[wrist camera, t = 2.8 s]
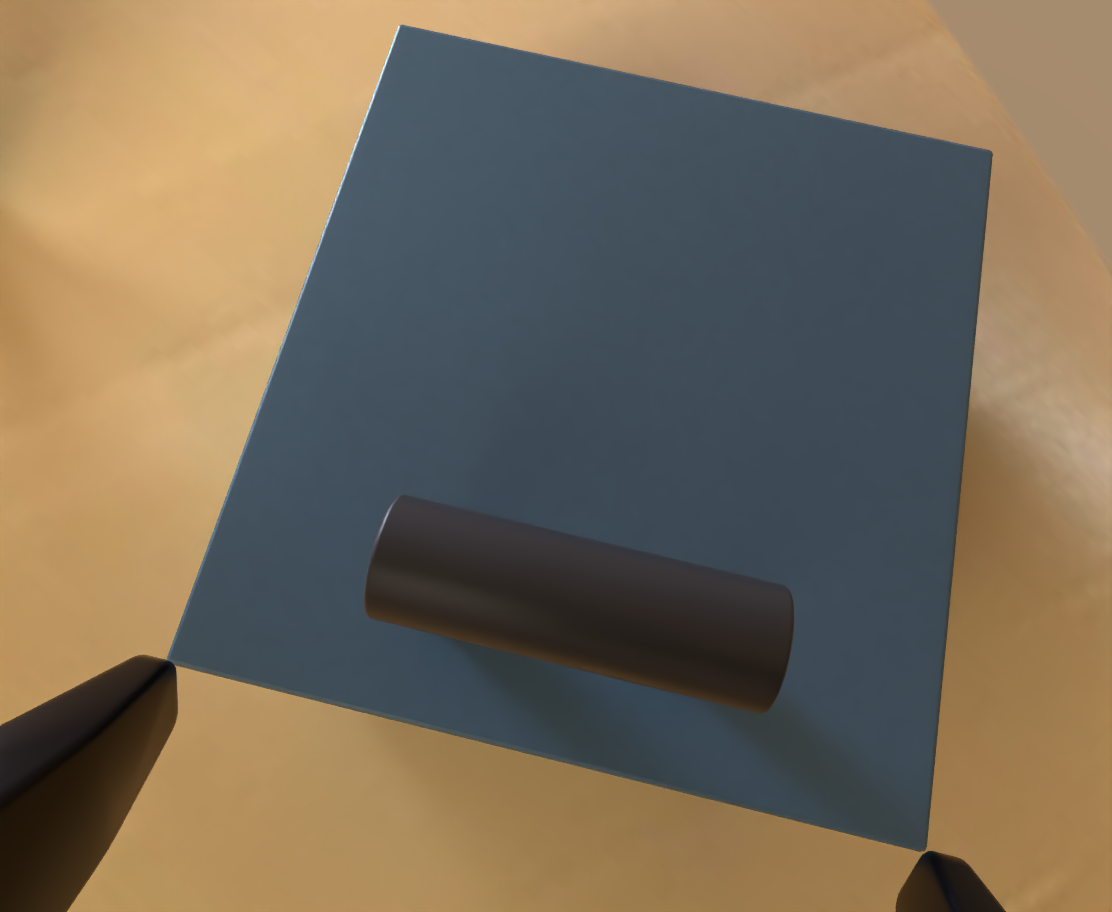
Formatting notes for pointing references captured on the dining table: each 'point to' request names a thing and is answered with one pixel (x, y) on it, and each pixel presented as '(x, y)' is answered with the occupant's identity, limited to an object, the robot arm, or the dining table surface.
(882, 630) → the lid
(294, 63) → the dining table surface
